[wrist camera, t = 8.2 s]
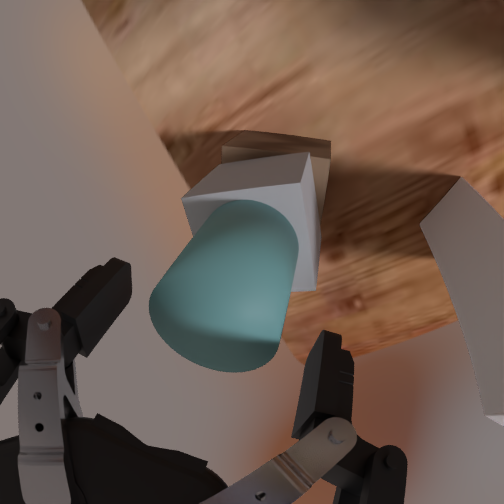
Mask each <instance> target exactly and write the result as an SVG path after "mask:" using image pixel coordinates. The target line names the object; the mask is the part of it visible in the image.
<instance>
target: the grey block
mask: <svg viewBox="0 0 504 504" xmlns="http://www.w3.org/2000/svg"><path fill="white" fill-rule="evenodd" d="M181 199H182V203H183V206H184V209H185V212H186V215H187V219H188V222H189V225H190V228H191V231H192V234H193V237H194V235H195V234H196V233H197V231H198V230H199V229H200V228H201V226H202V225H203V224H204V222H205V221H206V220H207V219H208V217H209V216H210V215H211V214H212V213H213V212H214V211H215V210H216V209H217V208H218V207H220V206H222V205H223V204H226V203H228V202H232V201H236V200H254V201H258V202H262V203H264V204H267V205H269V206H271V207H273V208H274V209H276V210H277V211H279V212H280V213H281V214H282V215H284V216H285V217H286V219H287V220H288V221H289V222H290V224H291V225H292V226H293V228H294V230H295V232H296V235H297V238H298V243H299V253H298V259H297V264H296V269H295V274H294V279H293V283H292V288H291V292H295V291H316V284H317V275H318V266H319V256H320V246H321V230H320V222H319V214H318V207H317V199H316V192H315V185H314V178H313V172H312V165H311V159H310V153H309V152H303V153H294V154H286V155H278V156H271V157H264V158H257V159H250V160H243V161H237V162H231V163H225V164H219V165H218V166H217V167H216V168H214V169H213V170H212V171H211V172H210V173H209V174H208V175H206V176H205V177H204V178H203V179H202V180H201V181H200V182H198V183H197V184H196V185H195V186H194V187H193V188H192V189H191V190H190V191H188V192H187V193H186V194H185V195H184V196H183V197H182V198H181Z"/></svg>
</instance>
